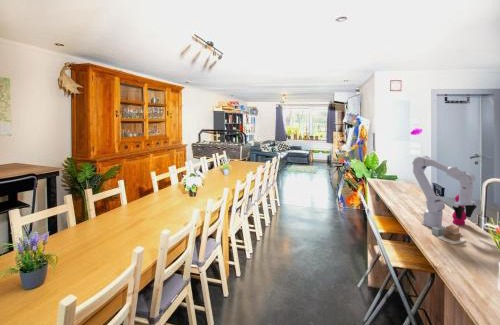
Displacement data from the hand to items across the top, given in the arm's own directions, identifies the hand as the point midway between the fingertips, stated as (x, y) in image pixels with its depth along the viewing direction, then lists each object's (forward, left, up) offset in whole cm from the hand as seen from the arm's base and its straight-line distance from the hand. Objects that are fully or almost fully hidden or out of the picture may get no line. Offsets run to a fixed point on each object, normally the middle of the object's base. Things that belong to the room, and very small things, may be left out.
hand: (463, 217), depth 163 cm
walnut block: (+4, -14, -9) cm, 17 cm away
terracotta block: (-2, -5, -10) cm, 11 cm away
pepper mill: (-12, +14, -10) cm, 21 cm away
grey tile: (+4, -14, -9) cm, 17 cm away
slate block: (-4, -13, -10) cm, 17 cm away
